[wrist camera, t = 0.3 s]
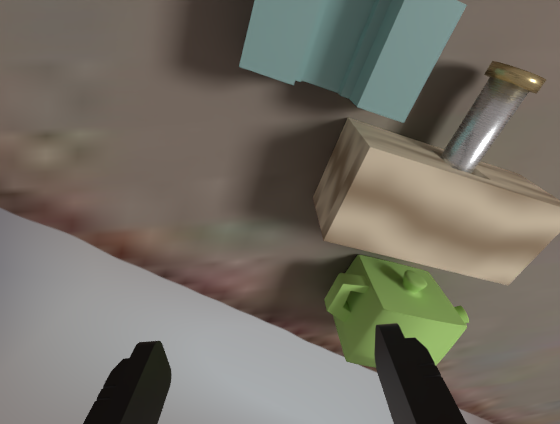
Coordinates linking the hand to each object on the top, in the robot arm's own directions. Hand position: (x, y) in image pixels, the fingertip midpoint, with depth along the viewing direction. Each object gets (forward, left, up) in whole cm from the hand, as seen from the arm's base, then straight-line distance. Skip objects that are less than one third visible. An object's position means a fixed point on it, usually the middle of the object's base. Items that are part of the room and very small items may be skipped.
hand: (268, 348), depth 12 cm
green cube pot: (+14, +21, -22) cm, 33 cm away
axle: (-3, +17, -20) cm, 26 cm away
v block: (-10, +3, -22) cm, 25 cm away
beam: (0, +17, -22) cm, 28 cm away
